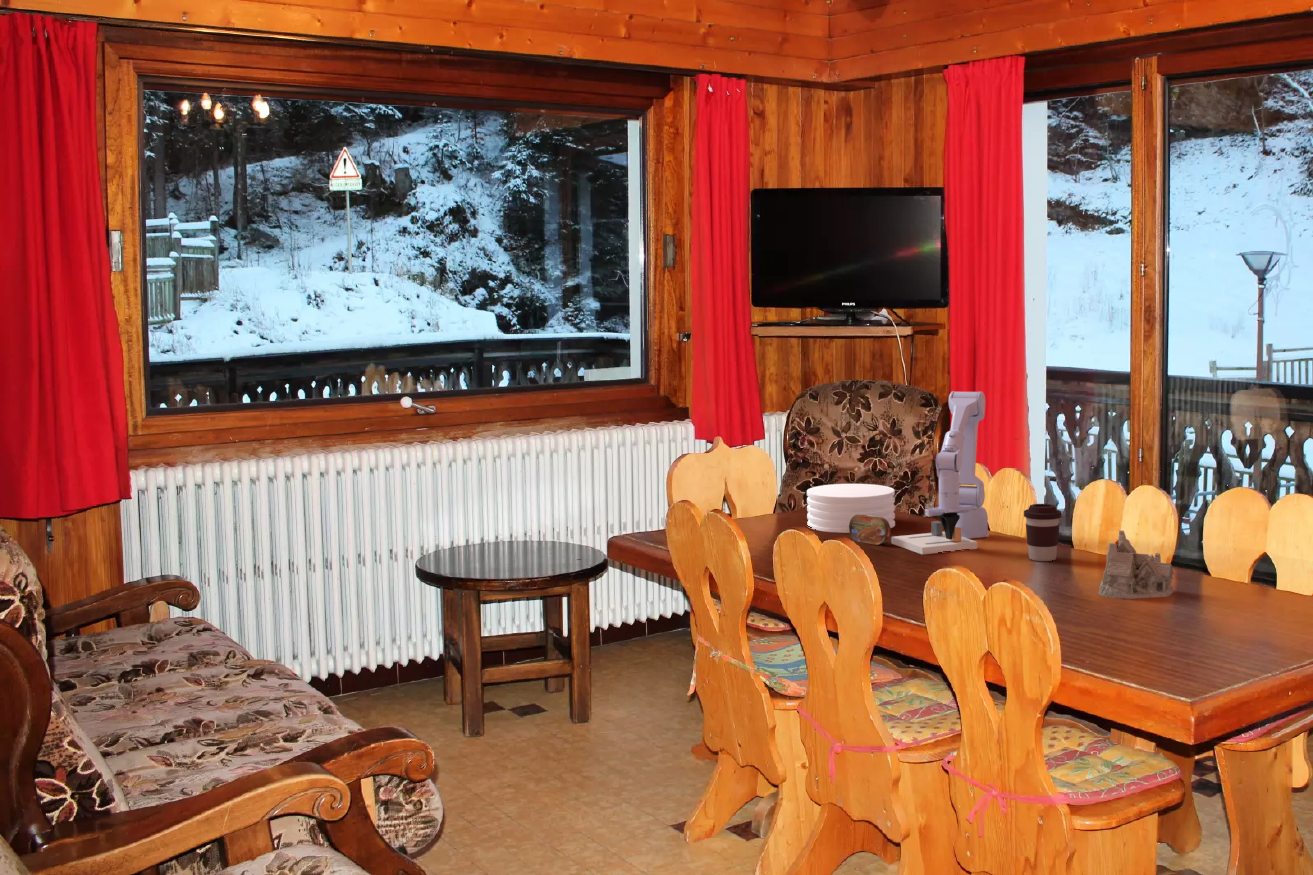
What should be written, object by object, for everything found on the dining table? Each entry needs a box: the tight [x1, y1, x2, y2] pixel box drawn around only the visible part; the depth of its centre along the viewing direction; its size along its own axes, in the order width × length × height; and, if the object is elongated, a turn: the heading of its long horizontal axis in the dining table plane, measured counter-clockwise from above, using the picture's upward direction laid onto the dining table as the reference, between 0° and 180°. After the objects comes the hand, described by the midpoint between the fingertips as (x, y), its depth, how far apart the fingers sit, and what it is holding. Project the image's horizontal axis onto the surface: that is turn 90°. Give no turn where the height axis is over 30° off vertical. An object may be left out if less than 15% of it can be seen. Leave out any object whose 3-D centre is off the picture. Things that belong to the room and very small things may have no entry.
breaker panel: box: [890, 531, 978, 555], centre depth 374 cm, size 18×18×2 cm
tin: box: [849, 515, 891, 546], centre depth 382 cm, size 15×3×8 cm, turn 37°
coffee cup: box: [1023, 503, 1062, 562], centre depth 351 cm, size 10×10×15 cm
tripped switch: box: [950, 526, 961, 542], centre depth 370 cm, size 2×3×4 cm, turn 18°
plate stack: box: [806, 483, 896, 534], centre depth 412 cm, size 28×28×12 cm
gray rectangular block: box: [930, 520, 943, 536], centre depth 380 cm, size 2×3×4 cm, turn 18°
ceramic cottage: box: [1097, 529, 1175, 600], centre depth 310 cm, size 16×16×15 cm
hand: (949, 538), depth 370 cm, fingers closed
